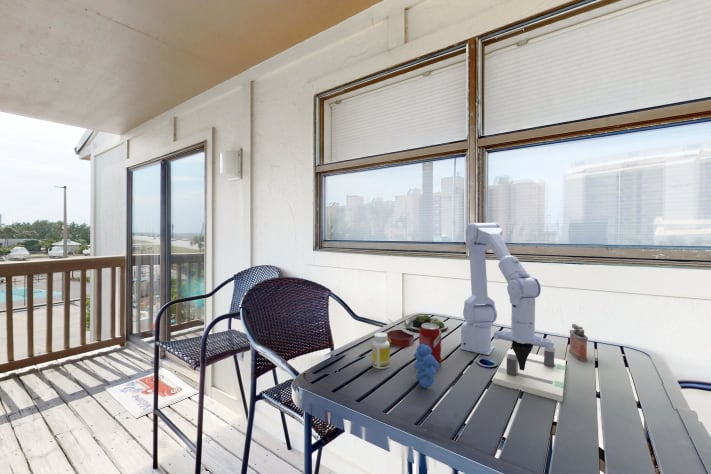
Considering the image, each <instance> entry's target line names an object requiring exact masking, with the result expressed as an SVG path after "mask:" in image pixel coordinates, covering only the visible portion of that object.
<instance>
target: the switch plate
mask: <svg viewBox="0 0 711 474" xmlns="http://www.w3.org/2000/svg"><path fill="white" fill-rule="evenodd" d="M509 354H512V355H516V354H515V352H514V350H513V349H511V348H508V349H507V351H506V354H505V355H504V357H503V359H502V361H501V363H500V364H499V366H498V368H497V369H496V372H495V374H494V375H493V376H492V377H493V378H492V383H493V384H494V385H498V386H502V387H506V388H508V389H513V388H514V389H513V390H516V389H519V390H518V391H520V390H521V391H520V392H524V393H528V394H532V395H535V396H539V397H543V398H547V399H550V400H554V401H558V402H561V403H563V401H564V400H563V397H564V388H565V379H566V378H565V377H566V367H567V363H566V362H567V361H566V360H565V359H560V358H557V357H554V367H550V366H546V365H544V355H540V354H536V353H531V352H530V354H529V355H528V357H527V360H526V363H525V369H524V371H523V370H520V368H519V363H518V372H517V375H516V376H514V375H510V374H507V357H508V355H509Z"/></svg>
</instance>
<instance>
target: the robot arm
mask: <svg viewBox="0 0 711 474" xmlns="http://www.w3.org/2000/svg"><path fill="white" fill-rule="evenodd" d="M465 245H466V247H467V248H468V250H469V268H470V269H469V270H470V271H469V272H470V285H471V286H470V288H471V289H470V290H471V295H470V296H469V297H468V298H467V299H465V300H464V303H463V304H464V307H463V312H462V315H463V318H464V320H465V321H463V322H462V325H461V330H460V350H463V351H468V352H471V353H477V354H481V355H486V356H490V355H491V353H492V352H493V350H494V349H495V346H494V345H492V326H494V323H495V322H496V320H497V319H498V312H497V311H498V310H497V309H496V305H495V301H494V300H493V299H492V298H490V297H489V296H488V283H487V282H488V280H487V265H486V264H487V263H486V262H487V261H486V250H487V249H488V248H489V249H491V251H492V252H493V254H494V255H495V256H496V258H497V259H498V269H499V270H500V272H501V274H502V276H504V279H505V281H506V282H507V285H506V290H507V293H508V296H509V303H510V304H511V324H510V325H511V330H510V331H501V330H495V331H494V332H493V339H494V340H503V341H508V342H511V348H512V350H514V352H515V354H516V357H517V360H518V363H519V368H520V370H523V371H524V369H525V363H526V360H527V357H528V355H529V354H530V353H531V351H532V350H533V347H540V348H544V349H545V348H548V349H550V350H553V348H554V345H555V343H554V342H555V341H554V340H552V339H547V338H544V337H540V336H538V335H535V333H536V331H535V329H536V328H535V327H536V324H535V323H536V299H537V298H538V297H539V296H540V294H541V290H542V287H541V284H540V281H539V280H538V278H536V277H535V276H533V275H531V274H529V273H527V271H526V269H525V267H524V266H523V265H522V263H521V262H520V260H519V259H518V257H517V256H513V255H511V253H510V251H509V249H508V247H507V245H506V243H505V241H504V239H503V229H502V227H501V225H500V224H499V223H498V222H470V223H469V224H468V225H467V226H466V229H465Z"/></svg>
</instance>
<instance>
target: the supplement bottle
mask: <svg viewBox="0 0 711 474" xmlns="http://www.w3.org/2000/svg"><path fill="white" fill-rule="evenodd" d="M373 337H374V338H373V339H374V340H373V341H372V343H371V344H372V345H371V348H372V349H371V352H372V354H371V356H372V357H371V361H372V364H371V365H372V366H373V368H375V369H379V370H384V369H388V368H389V367H390V365H391V364H390V361H391V359H390V355H391V354H390V351H391V350H390V344H389V342H388V341H387V333H386V332H380V331H379V332H376V333H374V336H373Z"/></svg>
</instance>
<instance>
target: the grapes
mask: <svg viewBox="0 0 711 474" xmlns="http://www.w3.org/2000/svg"><path fill="white" fill-rule="evenodd" d="M431 352H432V350H431V348H430V347H429V346H427V345H424V344H420V345H419V344H418V345H417V347H416V349H415V353H414V354H413V357H414V358H415V359H416V361H415V362H414V364H413V368H414V369H415V370H416V371H417V373H416V374H415V376H414V377H415V379H416V380H417V381H419V382H418V384H419V385H420V386H421V387H422V388H423V389H427V388H431V387H432V386H433V385H434V383H435V382H436V381H435V379H434V377H435V376H436V374H437V370H439V369H438V368H439V367H440V365H441V364H439V363H438V362H437V361H436V359H435V358H434V357H433V356H432V355H431Z"/></svg>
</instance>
